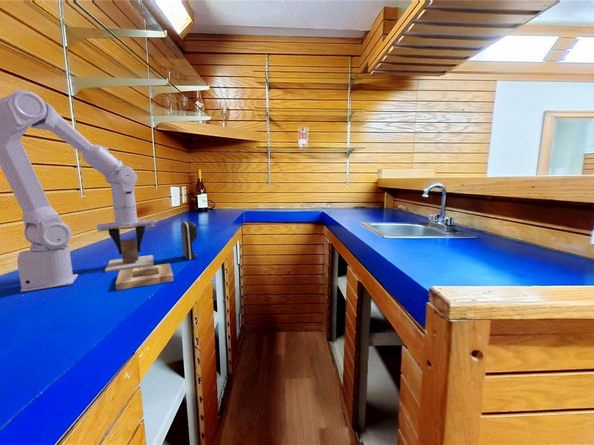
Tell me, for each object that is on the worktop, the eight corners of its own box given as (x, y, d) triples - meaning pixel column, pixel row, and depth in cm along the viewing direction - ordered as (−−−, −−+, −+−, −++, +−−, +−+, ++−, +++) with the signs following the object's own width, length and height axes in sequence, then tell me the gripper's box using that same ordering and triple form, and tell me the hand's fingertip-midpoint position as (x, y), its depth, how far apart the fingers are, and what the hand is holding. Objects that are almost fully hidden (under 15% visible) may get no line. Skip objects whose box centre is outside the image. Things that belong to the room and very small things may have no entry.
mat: (105, 272, 81) (104, 270, 81) (110, 262, 92) (109, 260, 91) (153, 265, 86) (153, 263, 86) (152, 256, 97) (152, 254, 97)
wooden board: (116, 290, 67) (115, 284, 67) (120, 275, 77) (119, 270, 77) (173, 280, 72) (173, 275, 72) (170, 268, 83) (169, 263, 82)
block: (122, 262, 86) (120, 242, 85) (123, 259, 89) (120, 239, 88) (138, 260, 88) (136, 240, 87) (138, 257, 91) (136, 238, 90)
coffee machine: (200, 258, 93) (197, 222, 91) (187, 260, 91) (184, 223, 89) (195, 254, 99) (192, 220, 97) (183, 256, 97) (180, 221, 95)
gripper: (93, 210, 80) (99, 259, 81) (153, 206, 86) (157, 251, 88) (96, 208, 86) (102, 254, 88) (151, 205, 93) (156, 247, 94)
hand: (129, 252), depth 88 cm, fingers closed on block, 4 cm apart
